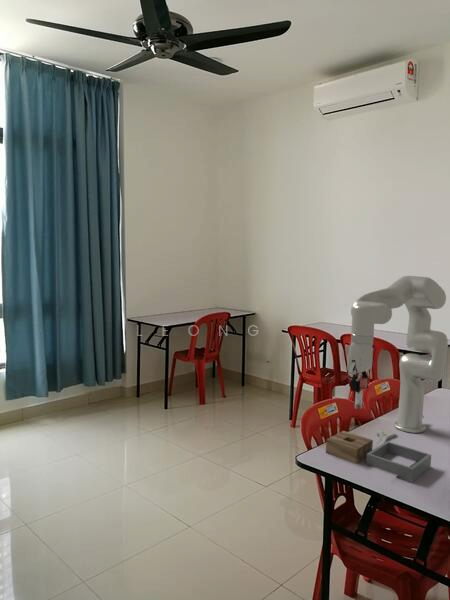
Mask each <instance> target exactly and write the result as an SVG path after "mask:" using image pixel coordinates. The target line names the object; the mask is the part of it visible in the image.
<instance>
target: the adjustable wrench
mask: <svg viewBox="0 0 450 600" xmlns="http://www.w3.org/2000/svg"><path fill="white" fill-rule="evenodd" d="M384 431H385V430H383V429H379V430H378V431H377V432H376V436H378V437H379V439H378V441H377V443H376V444H375V446H374V447H373V448H372V450H374V449H375V448H377V447H378V444H379V442H380V441H383V442H382V444H383V443H385V442H387V441H388V440H390V439H393V438H395V435H396V433H395V431H393V430H392V429H389V431H388V432H384Z"/></svg>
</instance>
